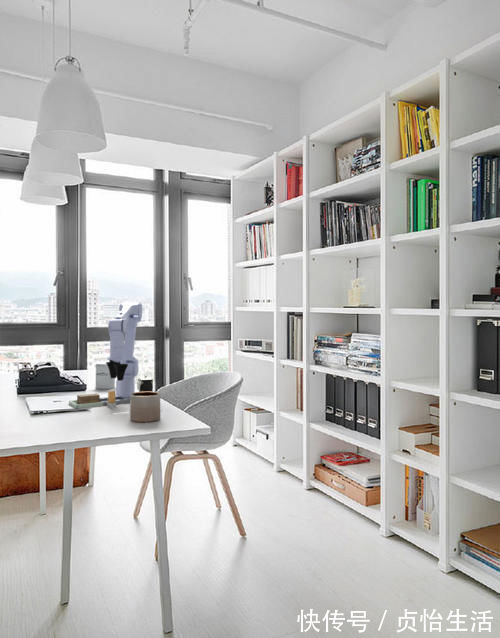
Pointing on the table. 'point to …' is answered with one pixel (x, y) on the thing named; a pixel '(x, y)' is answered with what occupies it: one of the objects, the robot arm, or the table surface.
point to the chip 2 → (94, 398)
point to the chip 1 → (83, 399)
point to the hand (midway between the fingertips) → (116, 379)
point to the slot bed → (117, 400)
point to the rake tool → (111, 399)
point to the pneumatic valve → (145, 384)
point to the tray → (74, 404)
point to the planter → (145, 406)
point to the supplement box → (103, 377)
